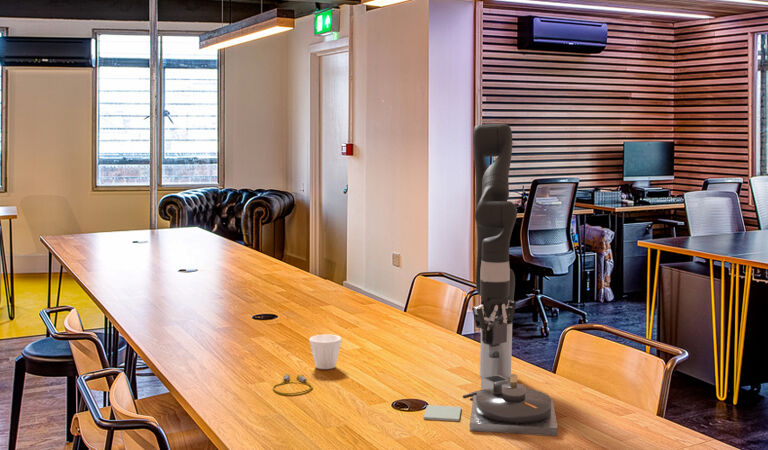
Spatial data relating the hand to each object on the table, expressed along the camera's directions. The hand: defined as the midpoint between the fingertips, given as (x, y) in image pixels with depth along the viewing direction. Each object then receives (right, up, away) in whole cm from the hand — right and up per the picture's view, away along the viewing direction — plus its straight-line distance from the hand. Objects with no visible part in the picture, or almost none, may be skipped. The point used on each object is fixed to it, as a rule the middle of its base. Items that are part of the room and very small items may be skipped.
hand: (494, 342), depth 204 cm
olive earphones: (-55, -17, +21) cm, 61 cm away
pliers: (+3, -17, +16) cm, 24 cm away
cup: (-47, -14, +40) cm, 63 cm away
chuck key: (0, -4, 0) cm, 4 cm away
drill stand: (+4, -19, -4) cm, 20 cm away
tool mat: (-14, -19, -1) cm, 23 cm away
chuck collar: (+4, -17, -4) cm, 18 cm away
